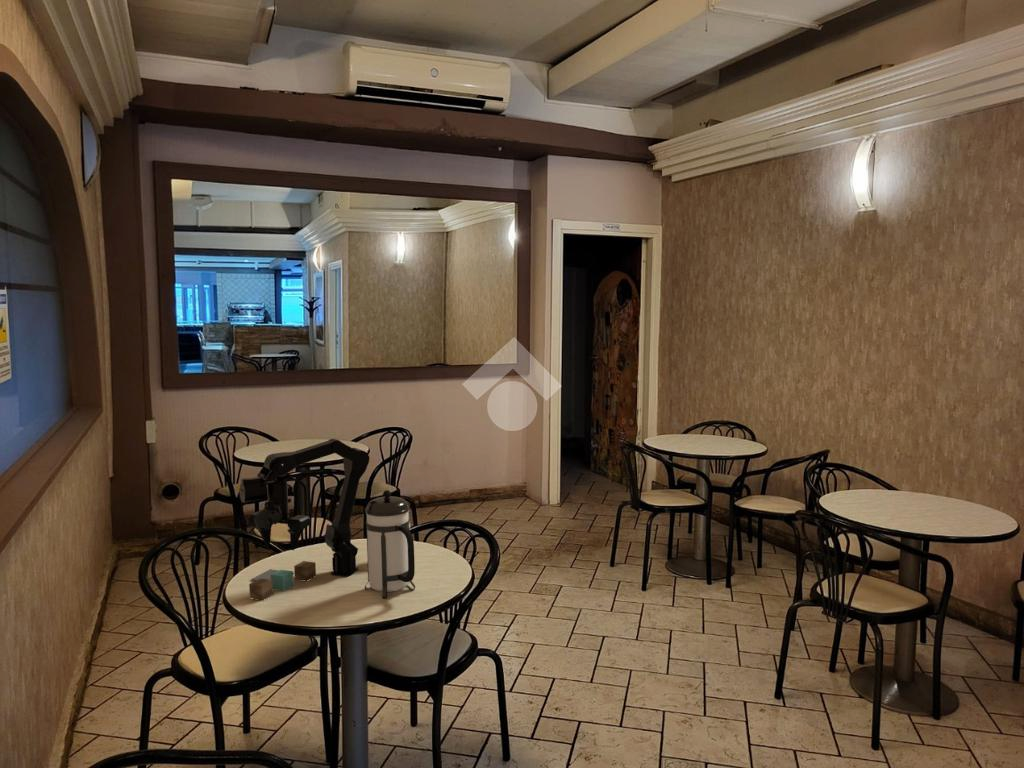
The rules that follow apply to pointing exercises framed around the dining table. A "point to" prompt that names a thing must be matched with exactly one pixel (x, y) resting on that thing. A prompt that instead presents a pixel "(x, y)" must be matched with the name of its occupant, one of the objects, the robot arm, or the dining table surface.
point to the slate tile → (265, 575)
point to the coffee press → (389, 544)
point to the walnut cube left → (261, 589)
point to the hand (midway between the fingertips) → (280, 548)
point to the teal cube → (282, 579)
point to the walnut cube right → (305, 570)
